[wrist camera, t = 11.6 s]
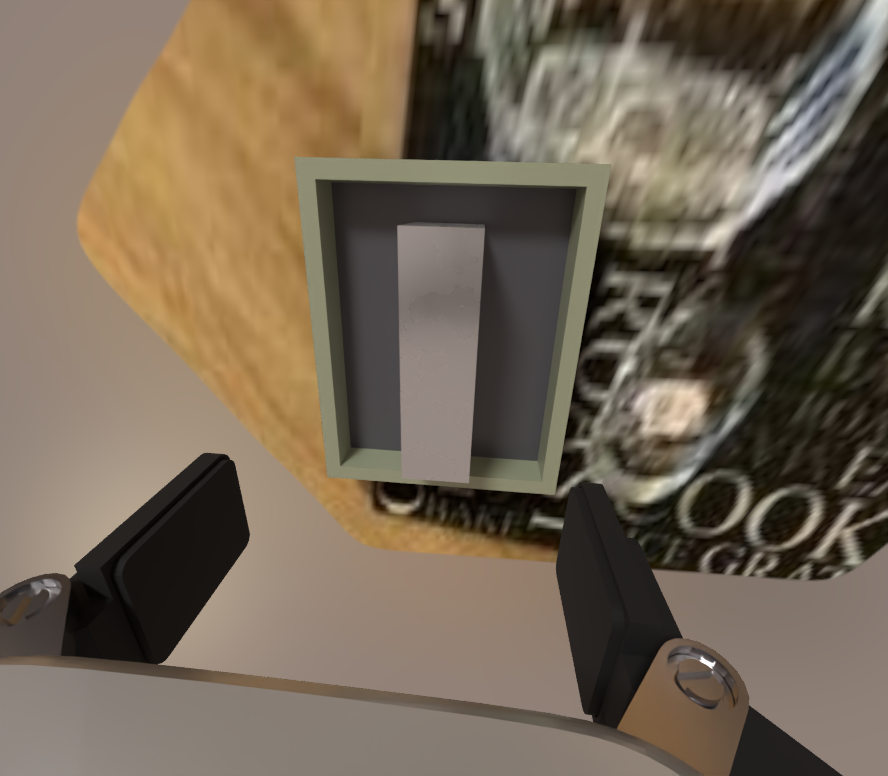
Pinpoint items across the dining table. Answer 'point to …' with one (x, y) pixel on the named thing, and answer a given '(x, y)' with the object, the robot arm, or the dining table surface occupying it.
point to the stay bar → (438, 346)
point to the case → (501, 305)
